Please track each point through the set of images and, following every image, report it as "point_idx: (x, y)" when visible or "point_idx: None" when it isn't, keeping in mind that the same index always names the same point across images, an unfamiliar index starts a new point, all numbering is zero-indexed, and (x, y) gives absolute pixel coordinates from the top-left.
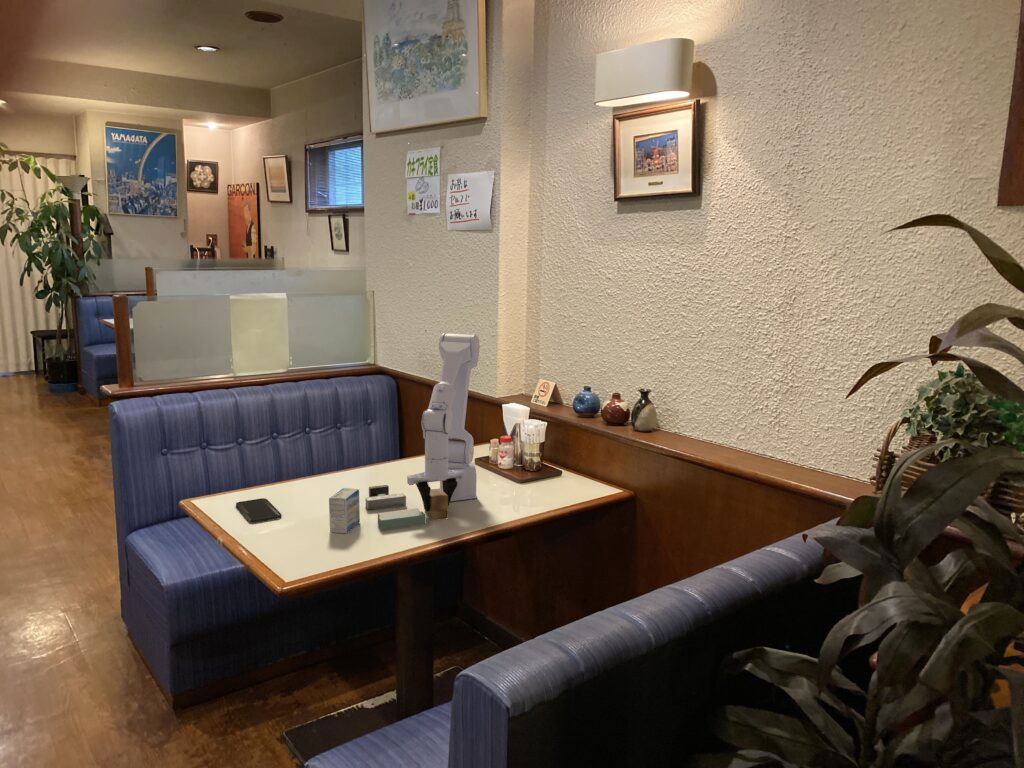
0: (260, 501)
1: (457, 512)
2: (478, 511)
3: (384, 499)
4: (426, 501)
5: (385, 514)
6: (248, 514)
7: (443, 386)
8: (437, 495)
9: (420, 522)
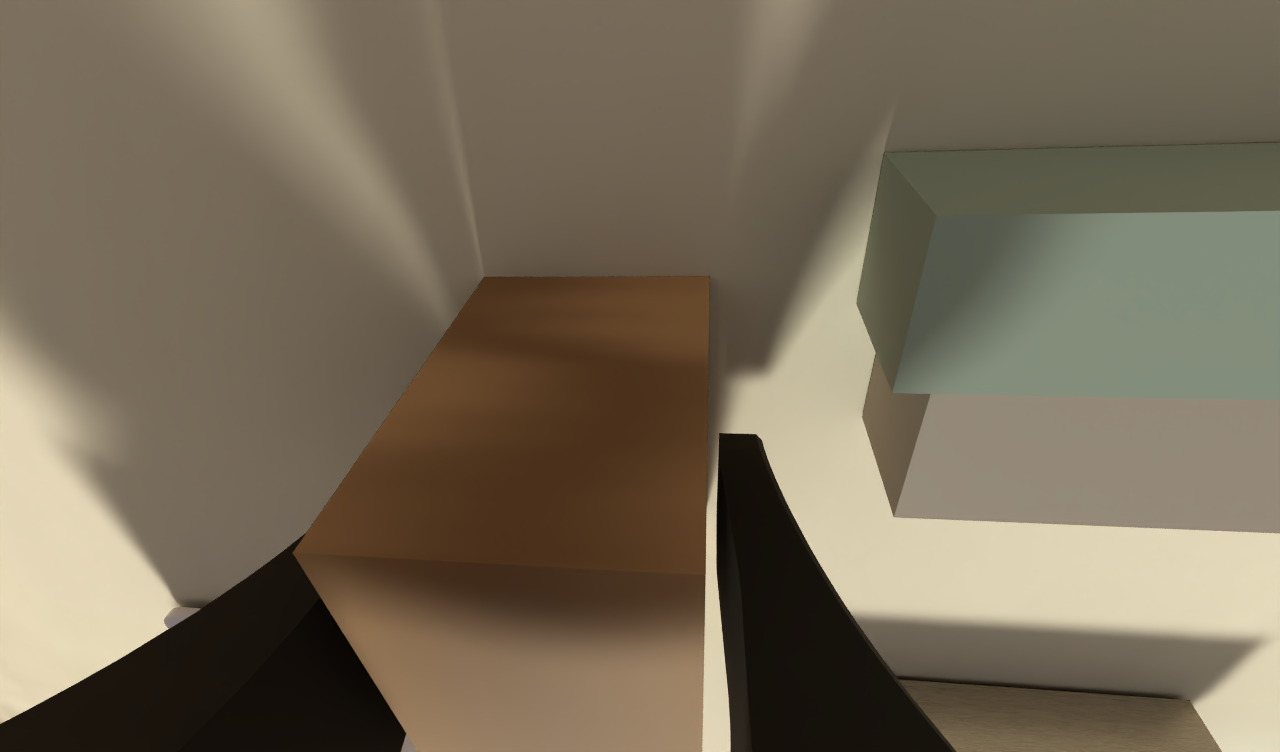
0: None
1: (348, 408)
2: (99, 359)
3: None
4: (797, 556)
5: None
6: None
7: None
8: (548, 627)
9: (995, 162)
